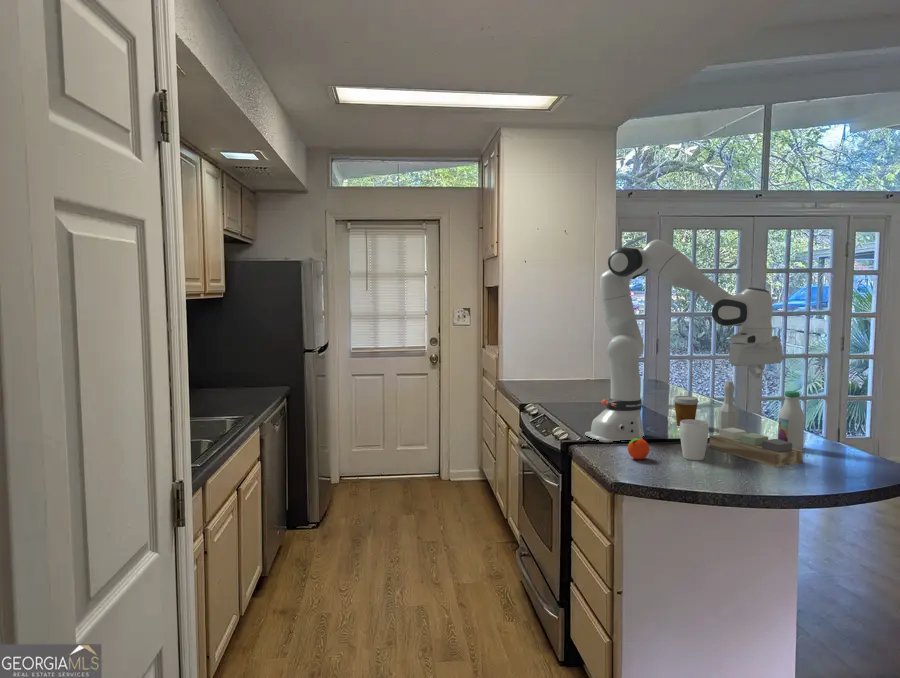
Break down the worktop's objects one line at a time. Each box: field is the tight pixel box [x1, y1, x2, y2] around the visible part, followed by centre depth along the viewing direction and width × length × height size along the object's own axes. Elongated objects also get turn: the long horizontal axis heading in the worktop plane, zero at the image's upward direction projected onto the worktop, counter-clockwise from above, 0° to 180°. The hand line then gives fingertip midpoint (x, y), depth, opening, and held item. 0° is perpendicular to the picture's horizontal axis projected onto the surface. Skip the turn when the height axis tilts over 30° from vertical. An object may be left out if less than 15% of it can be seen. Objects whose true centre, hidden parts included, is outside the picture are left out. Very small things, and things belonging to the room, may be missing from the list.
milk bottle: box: [777, 390, 805, 451], centre depth 214 cm, size 8×8×20 cm
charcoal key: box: [762, 438, 792, 453], centre depth 198 cm, size 6×6×4 cm
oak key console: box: [709, 434, 804, 468], centre depth 207 cm, size 12×27×4 cm, turn 21°
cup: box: [679, 419, 710, 461], centre depth 204 cm, size 9×9×12 cm
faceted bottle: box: [717, 380, 740, 431], centre depth 225 cm, size 6×6×22 cm
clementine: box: [627, 438, 650, 460], centre depth 203 cm, size 8×7×7 cm
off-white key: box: [719, 428, 748, 440], centre depth 215 cm, size 6×6×4 cm
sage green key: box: [740, 432, 769, 446], centre depth 207 cm, size 6×6×4 cm
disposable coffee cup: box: [672, 395, 699, 427], centre depth 249 cm, size 10×10×12 cm
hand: (756, 378), depth 205 cm, fingers closed
